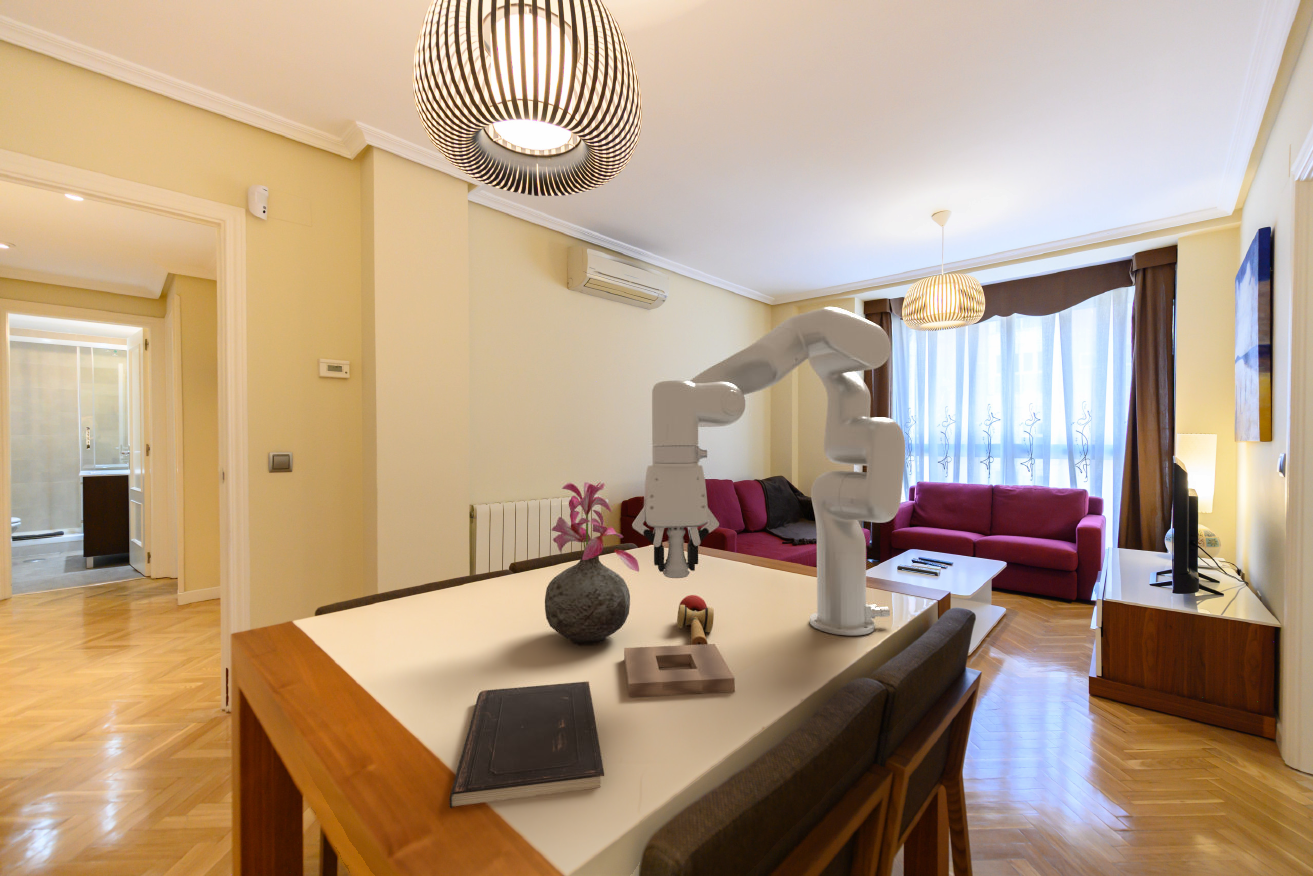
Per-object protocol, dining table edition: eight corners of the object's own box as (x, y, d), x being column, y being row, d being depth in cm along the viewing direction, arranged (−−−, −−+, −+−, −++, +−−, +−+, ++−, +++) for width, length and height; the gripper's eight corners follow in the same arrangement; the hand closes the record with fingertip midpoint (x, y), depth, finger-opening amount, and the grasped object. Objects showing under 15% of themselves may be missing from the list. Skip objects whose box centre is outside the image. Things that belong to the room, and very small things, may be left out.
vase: (540, 629, 109) (539, 481, 110) (623, 620, 115) (622, 478, 115) (550, 660, 93) (549, 487, 94) (646, 648, 99) (645, 484, 99)
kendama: (725, 658, 97) (712, 613, 115) (719, 626, 97) (707, 585, 114) (683, 666, 97) (677, 620, 115) (676, 634, 97) (671, 592, 114)
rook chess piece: (661, 572, 90) (660, 524, 90) (687, 571, 90) (687, 523, 90) (663, 579, 85) (663, 528, 85) (691, 578, 86) (691, 528, 86)
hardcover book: (588, 696, 81) (588, 681, 81) (604, 794, 59) (604, 773, 59) (477, 706, 78) (477, 690, 78) (449, 814, 56) (449, 791, 56)
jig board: (714, 655, 95) (714, 643, 95) (734, 691, 81) (734, 678, 81) (624, 659, 94) (624, 648, 94) (628, 697, 80) (628, 683, 80)
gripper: (720, 456, 93) (721, 562, 92) (622, 457, 91) (623, 565, 91) (731, 457, 85) (732, 573, 85) (624, 458, 83) (625, 576, 83)
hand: (676, 568), depth 88 cm, fingers closed on rook chess piece, 4 cm apart
